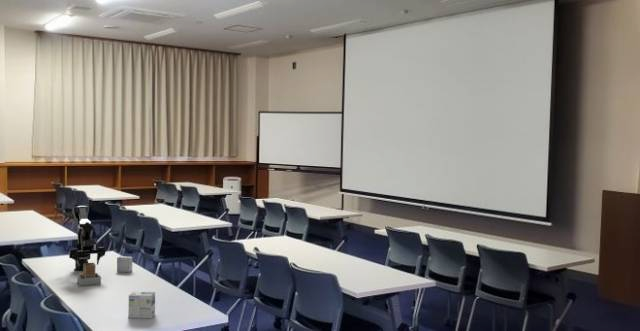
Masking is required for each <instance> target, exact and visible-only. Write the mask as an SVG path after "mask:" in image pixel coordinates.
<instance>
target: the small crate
mask: <svg viewBox="0 0 640 331" xmlns="http://www.w3.org/2000/svg"><path fill="white" fill-rule="evenodd" d="M95 273H96V263H95V262H88V263H83V271H82V274H83V278H93V277H95Z"/></svg>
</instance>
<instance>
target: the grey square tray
mask: <svg viewBox="0 0 640 331" xmlns="http://www.w3.org/2000/svg"><path fill="white" fill-rule="evenodd" d="M77 283H78V285H79V287H88V286H96V285H97V286H98V285H102V276H101V274H99V272H95V277H93V278H83V273H82V274H81V273H79V274H77Z"/></svg>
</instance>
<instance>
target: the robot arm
mask: <svg viewBox="0 0 640 331" xmlns="http://www.w3.org/2000/svg"><path fill="white" fill-rule="evenodd" d="M88 214H89V207H88V206H87V205H79V206H74V207H73V208H72V215H73V218H74V220H75V221H76V227H77V230H76V231H77V245H76V246H75V248H70V249H69V253H68V258H69V259H71V260H74V262H75V263H74V265H75V266H74V267H75V268H74V269H73V271H77V272H78V271H80V272H83V263H89V260H91V255H92V254H96V255H97V256H96V266H98V265H99V263H100V260H101V258H103V257H105V256H106V252H107V249H106V247H105V246H98V247H97V249H94V248H95V245H98V240H97V239H98V238H93V239H92V236H93V232H94V230H95V227H94V225H93V224H92V222H91V221H90V220H89V219H88Z"/></svg>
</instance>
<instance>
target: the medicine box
mask: <svg viewBox="0 0 640 331" xmlns="http://www.w3.org/2000/svg"><path fill="white" fill-rule="evenodd" d="M116 271H117V272H120V273H121V272H122V273H131V272H132V271H133V256H125V255H123V256H122V255H120V256H118V257H117V258H116Z"/></svg>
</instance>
